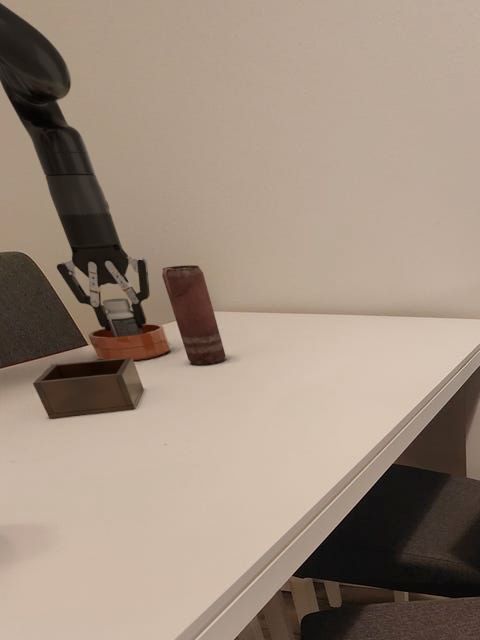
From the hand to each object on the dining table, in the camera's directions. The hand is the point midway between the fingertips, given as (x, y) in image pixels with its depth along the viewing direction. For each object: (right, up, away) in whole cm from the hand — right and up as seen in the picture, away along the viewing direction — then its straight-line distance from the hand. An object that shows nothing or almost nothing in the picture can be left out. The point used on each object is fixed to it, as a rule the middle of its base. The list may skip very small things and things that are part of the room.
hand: (125, 328), depth 105 cm
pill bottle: (0, -3, +3) cm, 4 cm away
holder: (+9, -22, -21) cm, 32 cm away
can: (+16, -8, -3) cm, 18 cm away
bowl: (0, -3, +3) cm, 4 cm away
